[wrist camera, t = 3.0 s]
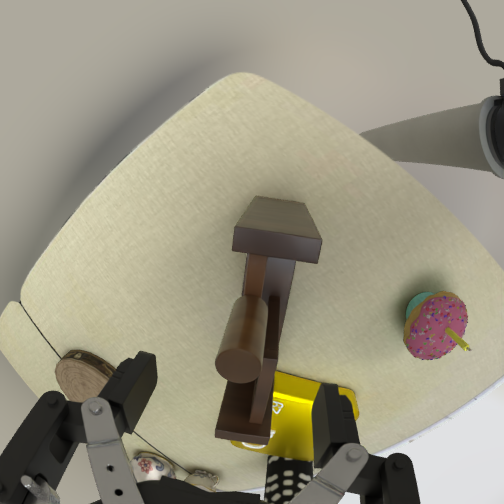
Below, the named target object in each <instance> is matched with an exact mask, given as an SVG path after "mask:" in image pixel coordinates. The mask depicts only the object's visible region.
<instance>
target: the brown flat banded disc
mask: <svg viewBox="0 0 504 504" xmlns="http://www.w3.org/2000/svg"><path fill="white" fill-rule="evenodd" d="M115 371H116V369H115V368H114V367H113V366H111V365H110V364H109V363H107V362H106V361H105V360H103V359H101V358H99V357H98V356H96V355H94V354H92V353H89V352H86V351H82V350H73V351H70V352H68V353H67V354H66V355H65V356H64V357H63V358H62V359H61V360H60V361H59V362H58V363H57V364H56V369H55V374H56V379H57V381H58V383H59V385H60V387H61V389H62V391H63V392H64V393H65V395H66V396H67V397H68V399H69V400H70V401H74V402H84V401H85V400H87V399H88V398H91V397H97V396H98V394H99V393H100V392H101V390H102V389H103V387H104V386H105V384H106V383H107V382H108V380H109V379H110V377H112V374H113V373H114V372H115Z"/></svg>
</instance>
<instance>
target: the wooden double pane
mask: <svg viewBox="0 0 504 504" xmlns="http://www.w3.org/2000/svg"><path fill="white" fill-rule="evenodd" d="M321 245H322V238H321V236H320V234H319V232H318V230H317V228H316V226H315V224H314V221H313V219H312V217H311V215H310V213H309V211H308V209H307V207H306V205H305V203H300V202H294V201H288V200H281V199H275V198H268V197H261V196H255V198H254V199H253V201H252V202H251V203H250V205H249V206H248V208H247V209H246V211H245V212H244V214H243V215H242V217H241V218H240V219H239V221H238V222H237V224H236V225H235V227H234V235H233V244H232V251H235V252H242V253H247V258H246V266H245V274H244V282H243V290H242V296H244V288H245V280H246V273H247V265H248V257H249V254H255V255H262V256H268V259H267V266H266V272H265V278H264V285H263V291H262V297H261V299H262V300H263V301H264V302H265V303H266V305H267V307H268V317H267V327H266V336H265V346H264V355H263V364H262V371H261V373H260V375H259V376H258V377H257V378H256V379H255V380H253V381H251V382H248V383H235V382H231V381H229V380H228V381H227V385H226V389H225V393H224V397H223V401H222V405H221V409H220V413H219V417H218V421H217V425H216V429H215V437H216V438H221V439H226V440H232V441H238V442H244V443H251V444H259V445H268V443H269V440H270V434H271V421H272V406H273V391H274V375H275V371H276V367H277V362H278V350H279V341H280V337H281V332H282V327H283V323H284V318H285V313H286V309H287V304H288V299H289V294H290V289H291V284H292V279H293V274H294V269H295V263H296V261H301V262H308V263H314V264H317V263H318V259H319V255H320V250H321Z"/></svg>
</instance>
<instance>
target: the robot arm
mask: <svg viewBox="0 0 504 504" xmlns="http://www.w3.org/2000/svg"><path fill="white" fill-rule="evenodd" d="M461 1H462V3H463V5H464V7H465V8H466V10H467V12H468V14H469V16H470V19H471V21H472V24H473V28H474V32H475V38H476V42H477V46H478V48H479V51H480V53H481V55H482V56H483V58H484V59H485V60H486V61H487V63H489V64H490V65H492V66H499V67H502V68H503V69H504V62H502V61H500V60H492V59H491V58H490V57H489V56H488V54H487V53H486V51H485V49H484V46H483V43H482V39H481V34H480V29H479V25H478V22H477V19H476V17H475V15H474V13H473V11H472V9H471V7H470V5H469V3H468V2H467V0H461ZM500 95H501V96H502V97H504V78H503V79H500ZM486 137H487V143H488V146H489V149H490V152H491V154H492V156H493V158H494V160H495V161H496V162H497V164H498V165H499V166H500V167H501V168H503V169H504V98H502V99H496V100H494V106H493V107H492V108H491V109H490V111H489V113H488V116H487V119H486ZM157 378H158V376H157V366H156V356H155V355H154V354H151V353H147V352H144V351H139V352H138V354H137V355H136V357H135V358H134V359H131V358H128V359H126V360H124V361H123V362H121V363H120V365H119V366H118V367H117V369H116V371H115V372H114V373H113V374H112V377H110V379H109V380H108V382H107V383H106V384H105V386H104V387H103V389H102V390H101V392H100V393H99V394H98V396H97V397H91V398H88V399H87V400H85V401H84V402H74V401H67V400H66V399H65V397H64V395H63V394H62V393H60V392H58V391H48V392H46V393H44V394H43V395H42V396H41V397H40V399H39V400H38V402H37V403H36V404H35V406H34V407H33V408H32V410H31V411H30V413H29V414H28V416H27V417H26V419H25V420H24V421H23V423H22V424H21V426H20V427H19V428H18V430H17V431H16V433H15V434H14V436H13V437H12V439H11V440H10V442H9V443H8V445H7V447H6V448H5V449H4V451H3V453H2V454H1V456H0V504H60V498H59V496H58V494H57V493H56V488H57V486H58V484H59V482H60V480H61V478H62V476H63V474H64V472H65V470H66V468H67V466H68V464H69V462H70V460H71V458H72V456H73V454H74V452H75V450H76V448H77V446H78V444H79V443H87V445H86V447H87V452H88V456H89V460H90V464H91V468H92V471H93V475H94V478H95V482H96V485H97V488H98V491H99V494H100V497H101V499H100V500H98V501H95V502H93V503H91V504H270V503H268V502H265V501H263V500H260V494H252V493H244V492H237V491H233V492H208V491H205V490H203V489H200V488H198V487H196V486H194V485H192V484H189V483H187V482H185V481H181V480H177V479H174V478H170V477H167V476H163V475H162V476H161V479H160V480H147V481H142V482H138V481H137V479H136V476H135V474H134V472H133V469H132V467H131V464H130V461H129V459H128V456H127V453H126V450H125V448H124V445H123V442H122V439H121V437H122V435H123V433H124V432H126V433H128V434H132V432H133V430H134V428H135V426H136V424H137V422H138V421H139V419H140V417H141V415H142V413H143V411H144V409H145V407H146V405H147V403H148V401H149V399H150V397H151V395H152V393H153V391H154V389H155V387H156V384H157ZM311 418H312V433H313V451H314V468H321V469H322V470H321V471H320V472H319V473H318V474H317V475H316V476H315V477H314V478H313V479H312V480H311V481H310V482H309V483H308V484H307V485H306V486H305V487H304V488H303V489H302V490H301V491H300V492H299V493H298V494H297V495H296V496H295V497H294V498H293V499H292V500H291V501H290V502H289V503H288V504H338V502H339V501H340V500H341V499H342V497H343V496H344V493H345V492H350V493H355V494H359V495H360V504H420V498H419V493H418V487H417V482H416V478H415V473H414V468H413V464H412V461H411V459H410V458H409V457H408V456H407V455H405V454H402V453H394V454H391V455H390V456H389V457H387V458H384V457H379V456H374V455H371V454H369V453H368V452H367V450H366V449H365V448H364V447H363V446H362V445H360V441H359V436H358V431H357V426H356V421H355V419H354V418H355V416H354V412H353V407H352V403H351V401H350V400H349V398H348V397H347V396H346V395H339V389H338V385H337V384H328V383H321V385H320V387H319V390H318V392H317V395H316V397H315V400H314V402H313V405H312V411H311Z"/></svg>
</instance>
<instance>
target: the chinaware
mask: <svg viewBox="0 0 504 504" xmlns="http://www.w3.org/2000/svg"><path fill="white" fill-rule="evenodd" d="M130 464H131V467H132V469H133V472H134V474H135V476H136V479H137V481H138V482H142V481H147V480H160V479H161V476H162V475H163V476H167V477H170V478H174V479H176V475H175V473H174V471H173V468H174V467H173V465H172V464H171V463H170V462H169V461H168V460H166V459H165V458H163V457H161V456H159V455H156V454H153V453H149V452H140V453H139V454H138V456H135V457H133V459H132V460H131V461H130ZM214 477H217V482H216V484H214V482H213V480H212V479H211V478H214ZM184 481H185V482H187V483H189V484H192V485H194V486H196V487H198V488H200V489H203V490H205V491H208V492H216V486H217V485H218V483H219V477H218V476H213V477H212V475H211V474H209V473H207V472H205V471H198V470H196V471H195V474H192V475H190V476H188V477H187V478H186V479H185V480H184Z"/></svg>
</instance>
